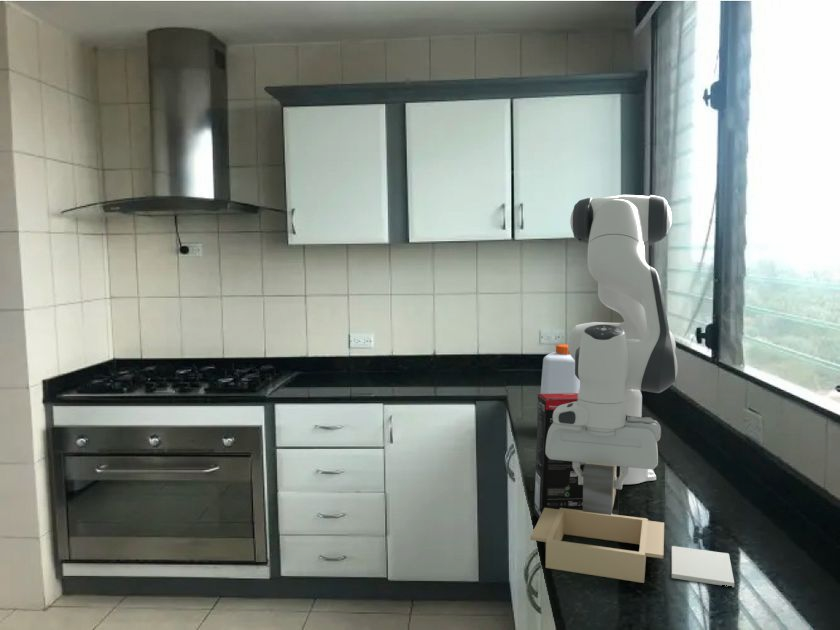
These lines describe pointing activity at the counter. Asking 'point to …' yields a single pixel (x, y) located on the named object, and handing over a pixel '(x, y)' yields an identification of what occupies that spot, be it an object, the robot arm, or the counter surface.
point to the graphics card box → (557, 464)
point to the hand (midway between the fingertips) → (600, 486)
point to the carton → (598, 557)
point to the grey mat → (702, 566)
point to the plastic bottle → (559, 372)
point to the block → (598, 488)
